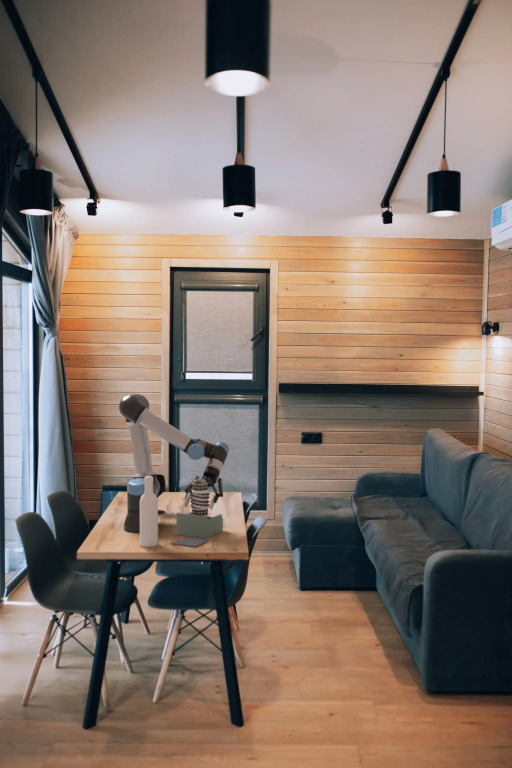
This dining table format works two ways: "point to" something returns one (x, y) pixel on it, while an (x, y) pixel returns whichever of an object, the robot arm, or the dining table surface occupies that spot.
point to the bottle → (148, 515)
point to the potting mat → (190, 542)
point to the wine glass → (161, 488)
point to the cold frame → (198, 525)
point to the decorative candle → (200, 497)
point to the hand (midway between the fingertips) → (197, 506)
